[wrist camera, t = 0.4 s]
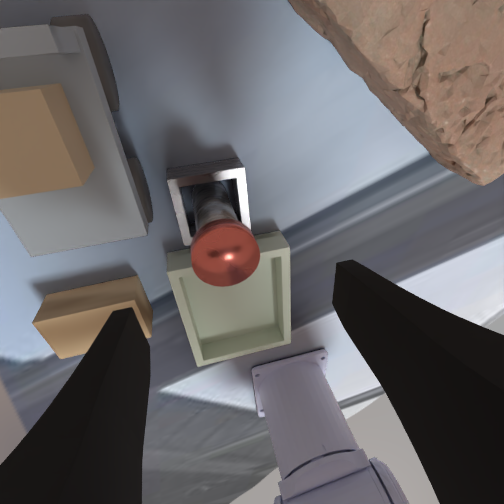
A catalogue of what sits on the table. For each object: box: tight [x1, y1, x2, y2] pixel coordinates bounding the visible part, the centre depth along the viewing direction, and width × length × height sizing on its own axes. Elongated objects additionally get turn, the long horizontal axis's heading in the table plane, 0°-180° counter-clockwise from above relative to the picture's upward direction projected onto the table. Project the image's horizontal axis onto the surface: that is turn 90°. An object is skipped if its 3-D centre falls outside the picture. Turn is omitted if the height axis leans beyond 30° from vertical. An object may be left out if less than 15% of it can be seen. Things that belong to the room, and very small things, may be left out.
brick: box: [288, 0, 504, 186], centre depth 14 cm, size 17×8×5 cm, turn 55°
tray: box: [167, 231, 291, 367], centre depth 22 cm, size 10×8×2 cm
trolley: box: [0, 14, 153, 257], centre depth 12 cm, size 9×5×7 cm, turn 5°
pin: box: [190, 181, 260, 287], centre depth 16 cm, size 3×3×7 cm
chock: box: [32, 275, 153, 359], centre depth 20 cm, size 4×6×3 cm, turn 96°
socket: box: [167, 158, 251, 246], centre depth 18 cm, size 4×4×2 cm
